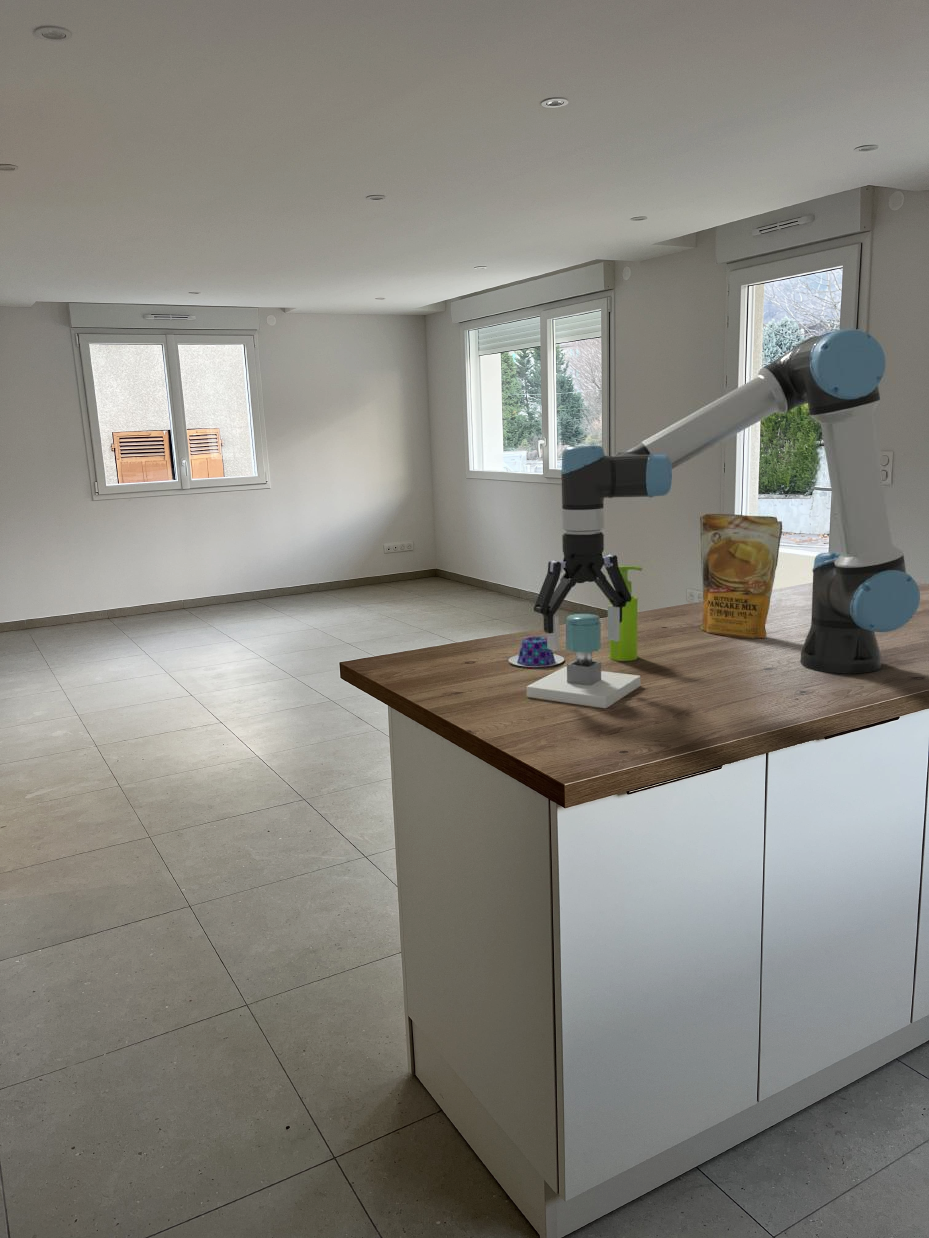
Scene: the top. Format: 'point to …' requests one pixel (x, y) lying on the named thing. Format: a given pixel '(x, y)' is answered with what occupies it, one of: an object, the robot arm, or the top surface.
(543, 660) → the patterned brimmed hat
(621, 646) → the soap dispenser
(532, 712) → the top surface
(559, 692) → the post base
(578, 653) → the post
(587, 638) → the cap
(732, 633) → the pancake mix bag
